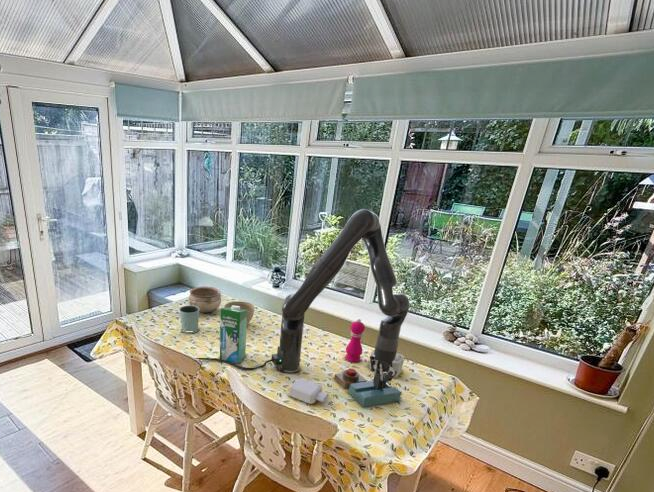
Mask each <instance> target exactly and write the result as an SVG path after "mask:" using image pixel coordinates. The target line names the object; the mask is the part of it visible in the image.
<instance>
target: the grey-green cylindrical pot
mask: <svg viewBox="0 0 654 492" xmlns="http://www.w3.org/2000/svg"><path fill="white" fill-rule="evenodd" d="M178 311H179V317H180V323H181V331H182V332H183V333H185V334H195V333H197V332H198V331H199V322H200V321H199V316H200V312H199V308H198V307H197V306H190V305H184V306H181V307H180V308H179V310H178ZM182 329H183V330H184V331H183V330H182ZM197 329H198V330H197ZM186 331H193V332H186Z"/></svg>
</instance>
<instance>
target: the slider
mask: <svg viewBox="0 0 654 492" xmlns="http://www.w3.org/2000/svg"><path fill="white" fill-rule="evenodd" d="M384 377H385V375H384ZM373 379H374V378H373ZM380 380H381V374H380V373H378V374H375V379H374V386H375V387H374V389H375V390H378V389H380V388H379V383H380Z"/></svg>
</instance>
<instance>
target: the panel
mask: <svg viewBox="0 0 654 492" xmlns="http://www.w3.org/2000/svg"><path fill="white" fill-rule="evenodd" d="M347 371H348V369H345V370H343V372H340V373H339V372H338V373H335V374H334V380H335V381H336V382H338V384H339V385H341V386H342V388H343V389H349V388H350V384H353V383H360V382H367V381H368V380H367V379H366V378H365V377H364V376H362V375H361V374H360V372H358V371H357V370H356V374H355V376H350V375H348V374H347Z"/></svg>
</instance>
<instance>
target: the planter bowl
mask: <svg viewBox="0 0 654 492" xmlns="http://www.w3.org/2000/svg"><path fill="white" fill-rule="evenodd" d="M232 305H234V306H240V309H244V310H247V327H248V326H249V324H250V322H251V321H252V319H253V317H254V314H255V308H256V307H255V305H254V304H253V303H251V302H248V301H241V300H235V301H229V302H227V303H225V304H224V305H223V308H225V307H231V306H232Z"/></svg>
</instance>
